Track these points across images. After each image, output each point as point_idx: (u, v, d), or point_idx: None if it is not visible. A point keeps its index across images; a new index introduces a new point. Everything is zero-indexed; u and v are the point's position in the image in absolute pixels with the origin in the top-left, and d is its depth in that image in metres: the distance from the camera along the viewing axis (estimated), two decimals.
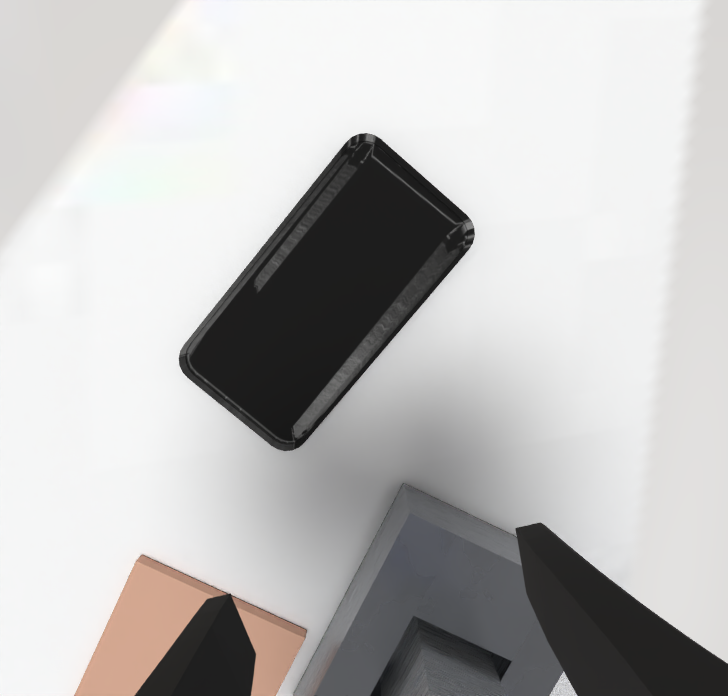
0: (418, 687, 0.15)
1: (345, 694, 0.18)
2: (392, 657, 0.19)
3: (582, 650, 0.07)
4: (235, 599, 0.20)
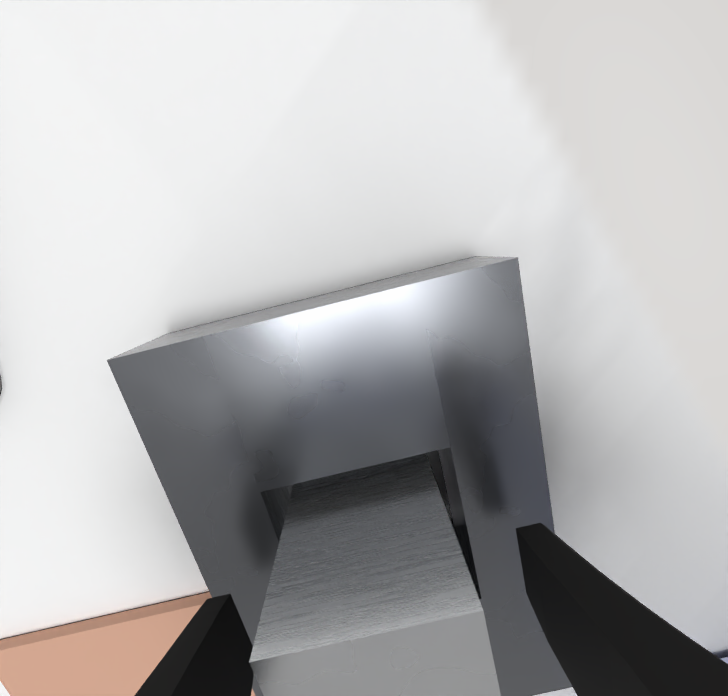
0: None
1: None
2: None
3: (582, 650, 0.07)
4: (130, 612, 0.14)
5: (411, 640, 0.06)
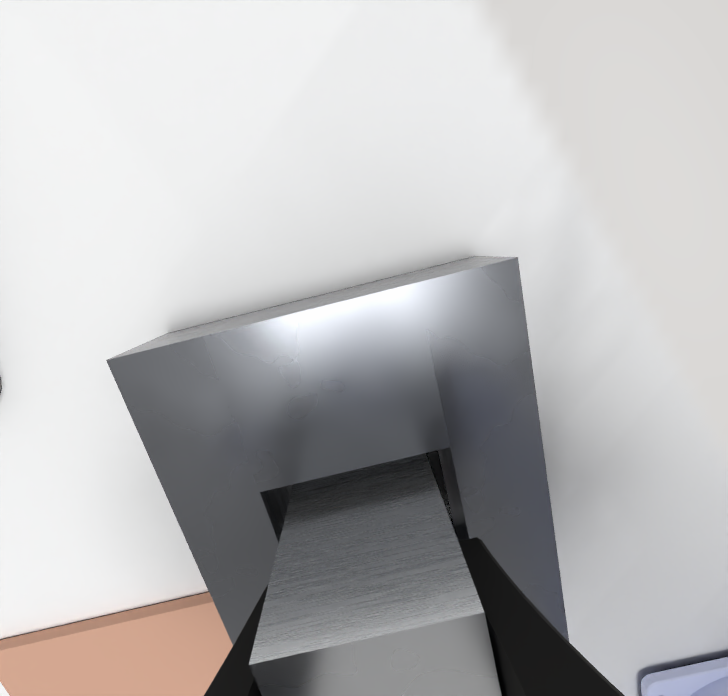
0: None
1: None
2: None
3: (498, 668, 0.07)
4: (130, 612, 0.14)
5: (411, 642, 0.06)
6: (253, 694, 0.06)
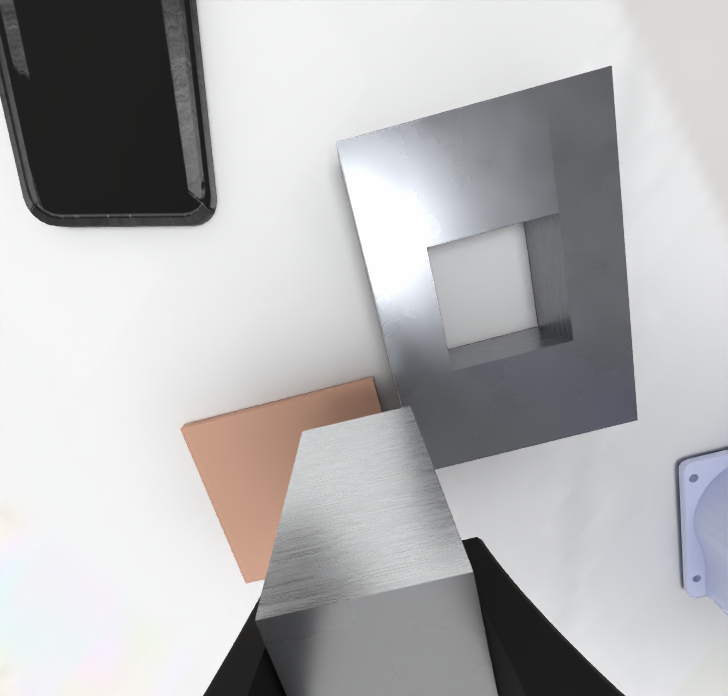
0: None
1: (426, 373, 0.16)
2: None
3: (499, 668, 0.07)
4: (290, 398, 0.19)
5: (405, 599, 0.07)
6: (252, 694, 0.06)
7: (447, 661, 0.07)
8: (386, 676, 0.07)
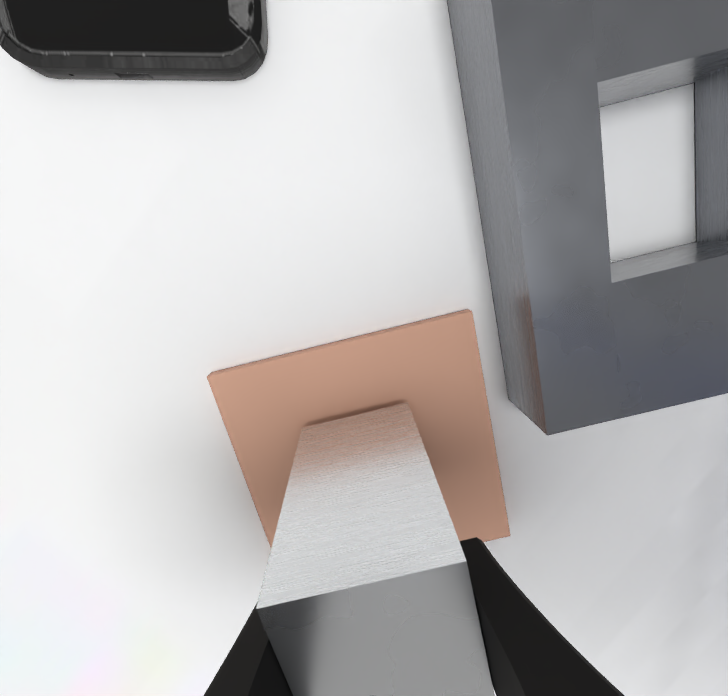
0: None
1: (574, 285, 0.11)
2: None
3: (498, 668, 0.07)
4: (355, 337, 0.14)
5: (401, 587, 0.07)
6: (253, 694, 0.06)
7: (441, 648, 0.07)
8: (383, 662, 0.07)
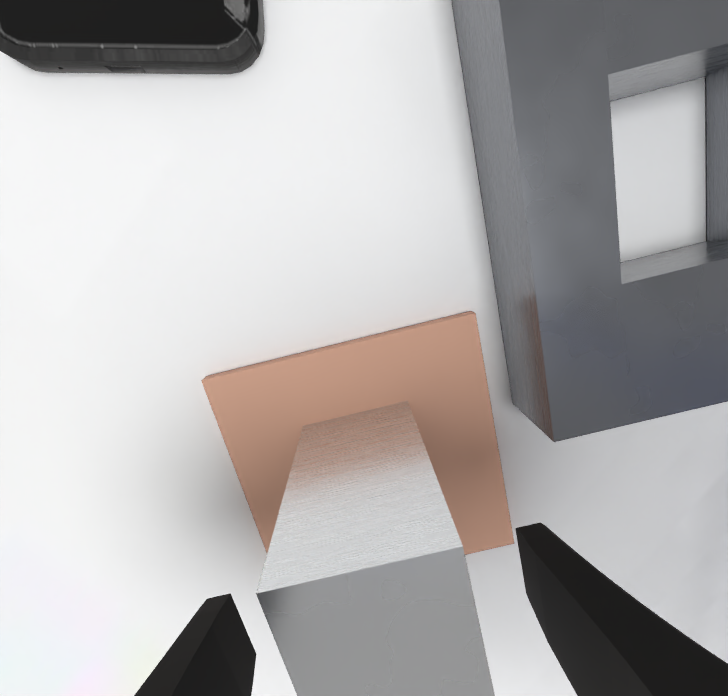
0: None
1: (583, 286, 0.10)
2: None
3: (582, 650, 0.07)
4: (355, 339, 0.13)
5: (399, 573, 0.07)
6: None
7: (438, 635, 0.07)
8: (381, 649, 0.07)
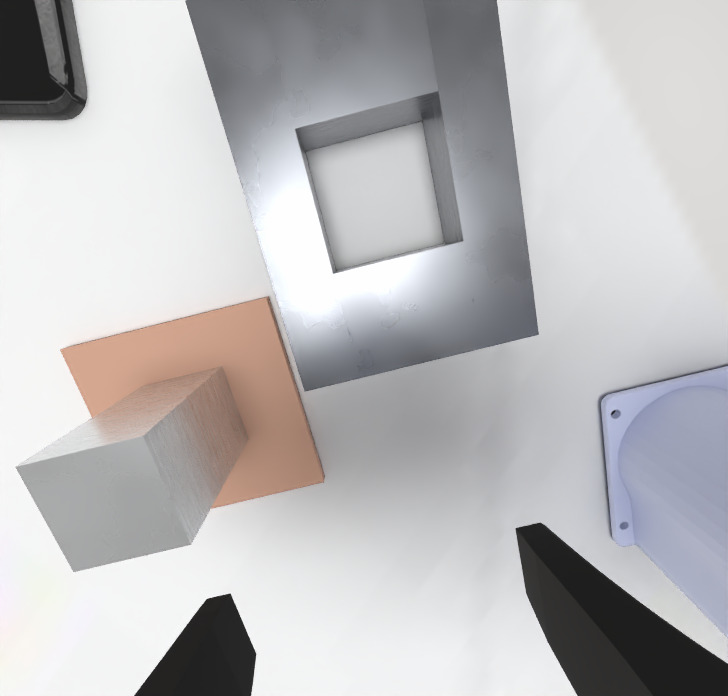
0: None
1: (305, 276, 0.14)
2: None
3: (582, 650, 0.07)
4: None
5: (105, 454, 0.11)
6: None
7: (142, 498, 0.11)
8: (106, 508, 0.12)
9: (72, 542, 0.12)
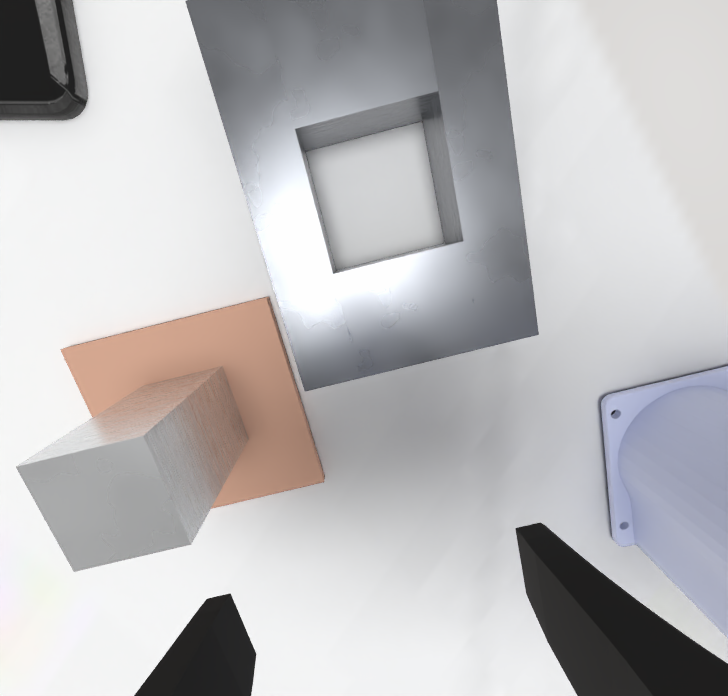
0: None
1: (305, 276, 0.14)
2: None
3: (582, 650, 0.07)
4: None
5: (106, 454, 0.11)
6: None
7: (142, 498, 0.11)
8: (106, 508, 0.12)
9: (72, 542, 0.12)
